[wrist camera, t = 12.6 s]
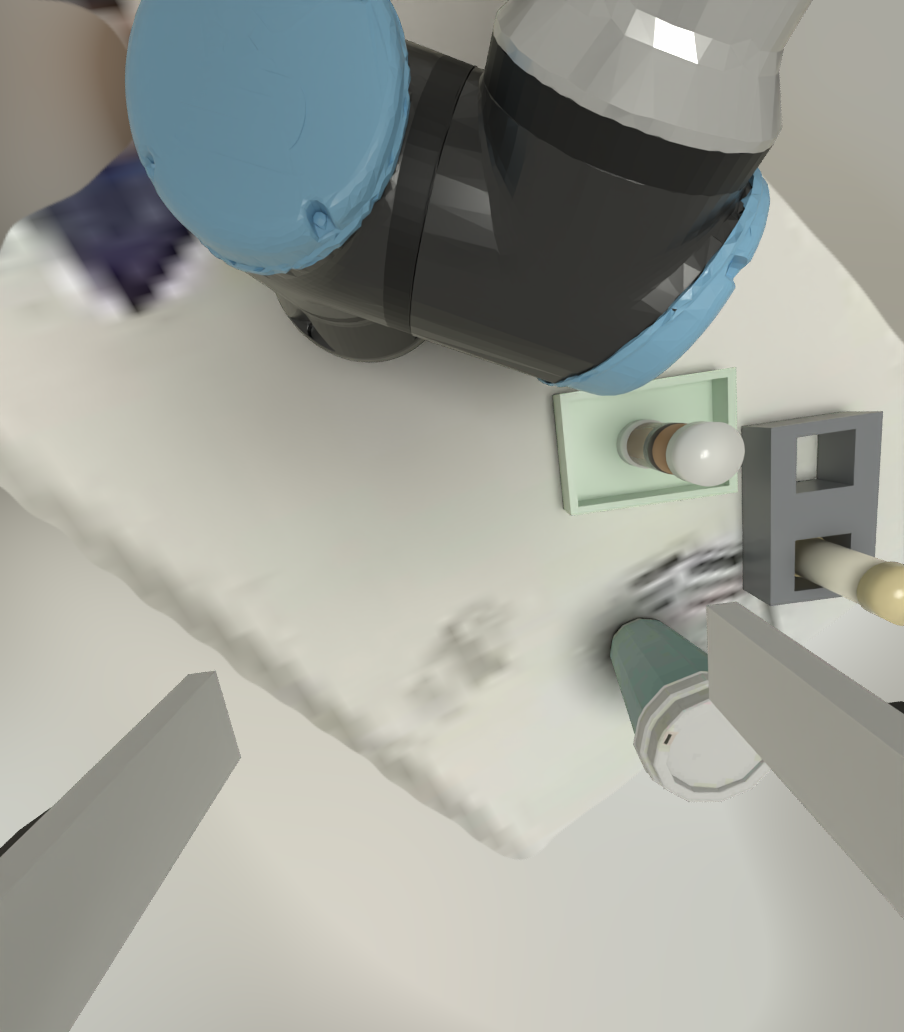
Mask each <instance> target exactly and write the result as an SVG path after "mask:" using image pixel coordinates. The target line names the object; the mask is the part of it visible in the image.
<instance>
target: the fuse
mask: <svg viewBox="0 0 904 1032" xmlns="http://www.w3.org/2000/svg"><path fill="white" fill-rule="evenodd" d="M795 576H796V577H803V578H805V579H807V580H809V581H811V582H813V583H815V584H817V585H820V586H822V587H824V588H826V589H828V590H830V591H832V592H834V593H836V594H839V595H841V596H843V597H845V598H847V599H849V600H851V601H853V602H855V603H858V604H860V605H861V607H863V608H864V609H865V610H866V611H868V612H870V613H872V614H875V615H877V616H879V617H881V618H883V619H885V620H887V621H889V622H891V623H893V624H896V625H900V626H904V564H901V563H898V562H887V561H884V560H881V559H878V558H875V557H872V556H869V555H866V554H863V553H861V552H858V551H855V550H852V549H849V548H846V547H843V546H840V545H837V544H834V543H831V542H828V541H826V540H824V539H823V538H821V537H818V538H810V539H803V540H796V541H795Z"/></svg>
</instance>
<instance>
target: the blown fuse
mask: <svg viewBox="0 0 904 1032" xmlns="http://www.w3.org/2000/svg"><path fill="white" fill-rule="evenodd" d="M616 445H617V452H618V454H619V456H620V458H621V459H622V460H623V461H624V462H626V463H627V464H629V465H632V466H636V467H639V468H643V469H649V468H651V469H655V470H657V471H659V472H663V473H666V474H671V475H675V476H676V477H677V478H679V479H681V480H683V481H687V482H690V483H693V484H697V485H700V486H708V487H709V486H716V485H719V484H722V483H724V482H726V481H728V480H729V479H730V478H732V477H733V476H734V475H735V474H736V472H737V471H738V470H739V468H740V467H741V464H742V462H743V459H744V454H745V447H744V442H743V439H742V437H741V435H740V433H739V432H738V431H737V430H736V429H735V428H734V427H732V426H731V425H729V424H726V423H722V422H705V421H697V422H691V423H688V424H687V423H673V422H669V423H662V422H660V421H657V420H635V421H632V422H630V423H629V424H627V425H626V426H625V427H624V428H623V429H622V430H621V431H620V433H619V435H618V438H617V443H616Z"/></svg>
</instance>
